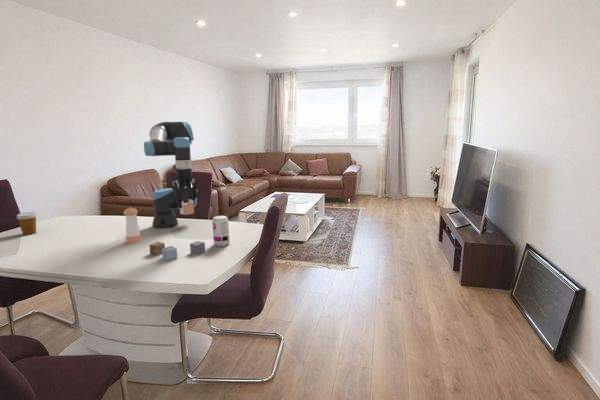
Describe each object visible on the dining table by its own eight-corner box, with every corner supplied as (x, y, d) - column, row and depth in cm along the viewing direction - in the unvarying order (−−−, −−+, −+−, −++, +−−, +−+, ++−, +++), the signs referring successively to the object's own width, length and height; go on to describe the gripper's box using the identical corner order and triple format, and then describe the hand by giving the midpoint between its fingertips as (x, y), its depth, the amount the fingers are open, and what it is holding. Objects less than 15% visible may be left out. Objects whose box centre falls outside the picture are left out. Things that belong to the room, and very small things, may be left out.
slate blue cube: (162, 258, 169) (161, 248, 168) (172, 255, 172) (172, 245, 171) (167, 261, 165) (166, 251, 164) (177, 258, 168) (176, 248, 167)
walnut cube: (150, 254, 174) (149, 244, 173) (158, 251, 179) (157, 241, 177) (157, 255, 172) (156, 246, 171) (165, 252, 176) (164, 243, 175)
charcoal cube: (190, 253, 175) (189, 243, 174) (198, 250, 179) (197, 240, 178) (197, 255, 173) (196, 245, 172) (205, 252, 177) (204, 242, 176)
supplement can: (214, 247, 182) (212, 219, 179) (213, 242, 190) (212, 215, 187) (230, 246, 185) (228, 218, 182) (228, 241, 192) (227, 214, 189)
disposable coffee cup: (43, 231, 213) (40, 212, 211) (30, 236, 204) (26, 216, 202) (29, 231, 214) (25, 211, 212) (15, 235, 205) (11, 215, 203)
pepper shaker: (135, 243, 190) (131, 209, 186) (123, 242, 191) (119, 208, 187) (143, 239, 197) (140, 206, 193) (132, 238, 198) (128, 205, 194)
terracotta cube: (180, 213, 183) (179, 204, 182) (188, 211, 187) (187, 202, 186) (185, 215, 180) (185, 205, 179) (194, 213, 184) (193, 203, 183)
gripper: (171, 170, 169) (175, 217, 174) (203, 167, 183) (205, 210, 188) (163, 169, 174) (167, 215, 179) (194, 166, 188) (197, 208, 193)
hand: (187, 212), depth 183 cm, fingers closed on terracotta cube, 5 cm apart
